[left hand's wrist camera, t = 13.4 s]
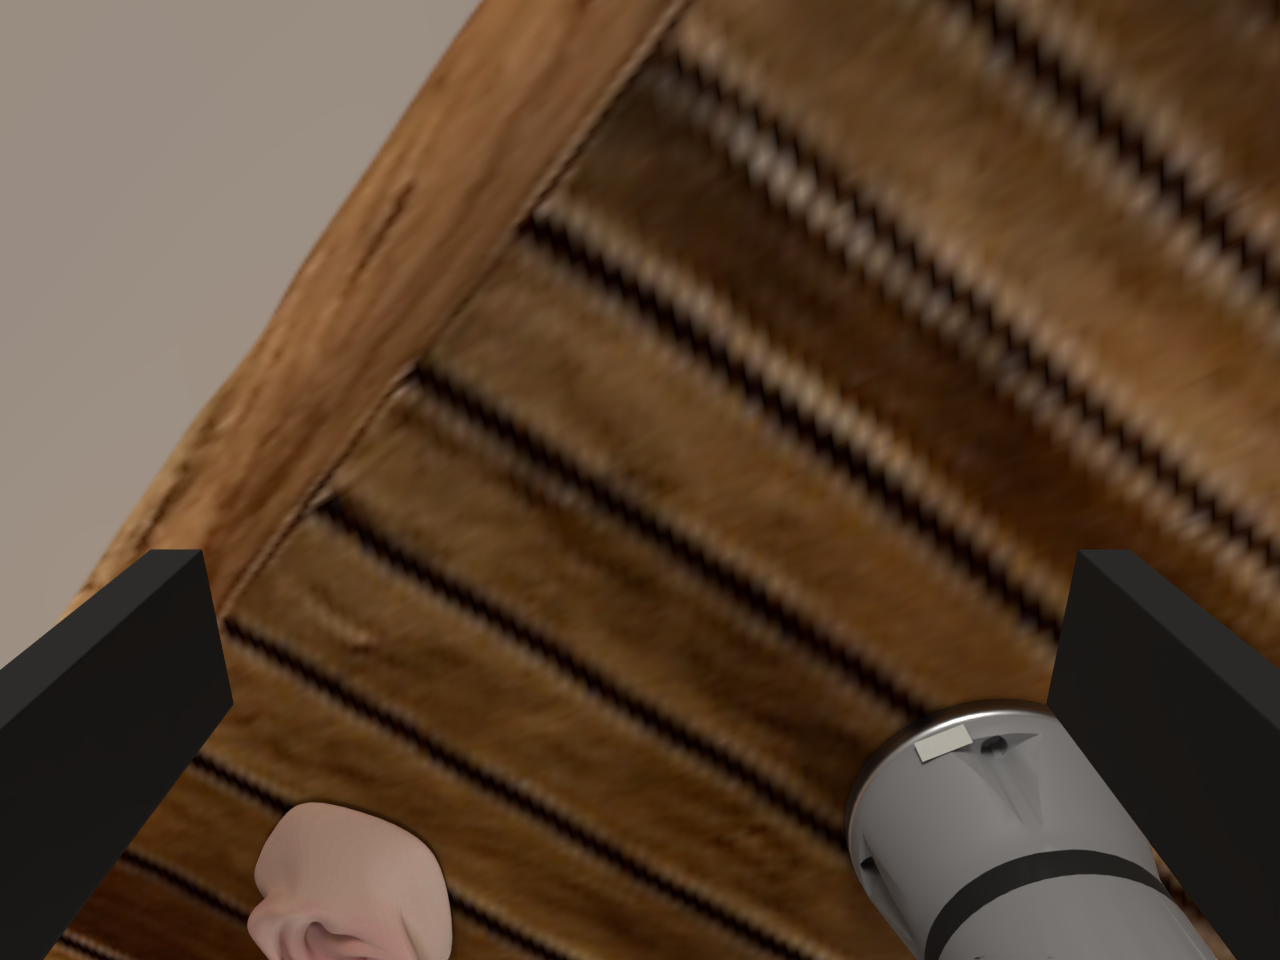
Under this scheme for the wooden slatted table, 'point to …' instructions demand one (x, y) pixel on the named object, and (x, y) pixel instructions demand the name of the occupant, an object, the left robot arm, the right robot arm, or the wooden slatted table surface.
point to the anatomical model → (348, 890)
